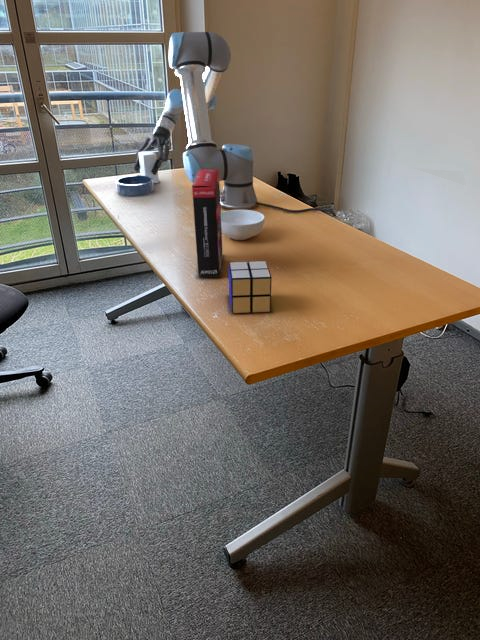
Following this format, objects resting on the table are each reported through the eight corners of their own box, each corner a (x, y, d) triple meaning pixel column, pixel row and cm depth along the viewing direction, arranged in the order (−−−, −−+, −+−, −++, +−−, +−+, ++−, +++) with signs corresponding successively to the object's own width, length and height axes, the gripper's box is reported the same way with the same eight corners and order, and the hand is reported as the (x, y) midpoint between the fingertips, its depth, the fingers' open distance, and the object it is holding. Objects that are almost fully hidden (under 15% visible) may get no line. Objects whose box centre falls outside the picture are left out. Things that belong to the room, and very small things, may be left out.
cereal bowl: (271, 231, 178) (272, 212, 175) (252, 248, 165) (253, 227, 162) (228, 225, 184) (228, 206, 181) (207, 240, 171) (206, 220, 168)
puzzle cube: (229, 295, 137) (228, 262, 131) (265, 294, 137) (266, 260, 132) (231, 314, 128) (231, 278, 123) (270, 312, 129) (271, 277, 124)
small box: (159, 182, 233) (156, 153, 226) (145, 184, 231) (142, 155, 224) (153, 178, 239) (151, 150, 233) (140, 180, 237) (137, 151, 230)
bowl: (159, 188, 226) (158, 176, 223) (143, 198, 213) (142, 186, 210) (128, 185, 230) (126, 174, 228) (110, 195, 217) (109, 183, 215)
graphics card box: (220, 279, 145) (217, 185, 132) (196, 279, 146) (191, 185, 132) (222, 255, 160) (220, 168, 146) (201, 255, 160) (196, 168, 146)
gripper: (187, 137, 232) (167, 179, 228) (149, 132, 242) (130, 173, 239) (179, 127, 225) (159, 170, 222) (141, 122, 235) (121, 164, 232)
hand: (144, 171), depth 230 cm, fingers closed on small box, 10 cm apart
